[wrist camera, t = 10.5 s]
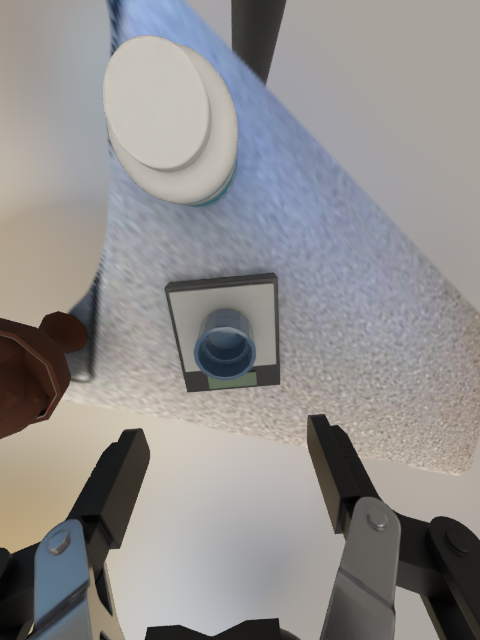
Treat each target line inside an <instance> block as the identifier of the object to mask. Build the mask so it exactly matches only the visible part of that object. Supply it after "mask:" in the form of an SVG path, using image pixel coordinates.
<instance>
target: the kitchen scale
mask: <svg viewBox="0 0 480 640" xmlns="http://www.w3.org/2000/svg"><path fill="white" fill-rule="evenodd" d="M165 292H166V297H167V301H168V306H169V310H170V315H171V320H172V324H173V329H174V333H175V338H176V343H177V347H178V352H179V356H180V361H181V365H182V370H183V375H184V379H185V384H186V388H187V392H199V391H211V390H222V389H234V388H245V387H257V386H269V385H280V360H279V321H278V282H277V276H276V275H275V274H274V273H267V274H257V275H246V276H235V277H224V278H213V279H202V280H191V281H180V282H170V283H169V284H168V285H167V286H166V287H165ZM225 309H230V310H233V311H237V312H239V313H241V314H242V315H244V316H245V317H246V318H247V319H248V320H249V322H250V324H251V326H252V329H253V335H254V341H255V346H256V359H255V362H254V364H253V367H252V368H251V369H250V370H249V371H248V372H247V373H246V374H245V375H243V376H241V377H239V378H237V379H234V380H224V381H223V380H218V379H214V378H211V377H209V376H208V375H206V374H204V373H203V372H202V371H201V370H200V369H199V367H198V366H197V364H196V363H195V358H194V353H193V351H194V348H195V344H196V341H197V337H198V334H199V331H200V327H201V324H202V322H203V321H204V320H205V318H206V317H207V316H208V315H209V314H211V313H213V312H215V311H217V310H225Z"/></svg>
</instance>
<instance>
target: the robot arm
mask: <svg viewBox="0 0 480 640" xmlns="http://www.w3.org/2000/svg"><path fill="white" fill-rule="evenodd" d="M307 444H308V449H309V453H310V456H311V459H312V462H313V465H314V469H315V472H316V475H317V478H318V481H319V485H320V488H321V491H322V494H323V497H324V500H325V504H326V507H327V510H328V513H329V517H330V520H331V523H332V526H333V529H334V532H335V534H341V533H343V535H344V538H345V540H346V543H345V547H344V550H343V554H342V558H341V562H340V566H339V568H338V571H337V575H336V579H335V582H334V586H333V590H332V594H331V597H330V601H329V605H328V609H327V613H326V617H325V621H324V625H323V628H322V632H321V636H320V640H394V632H395V609H394V599H395V588H396V586H399V587H402V588H405V589H407V590H410V591H413V592H416V593H418V594H420V596H421V598H422V601H423V603H424V605H425V607H426V610H427V612H428V614H429V617H430V619H431V621H432V623H433V625H434V628H435V630H436V632H437V634H438V637H439V639H440V640H480V540H479V539H478V538H477V536H476V535H475V534H474V533H473V532H472V531H470V530H469V529H468V528H467V527H466V526H464V525H463V524H461V523H460V522H458V521H456V520H454V519H451V518H448V517H444V516H439V517H435V518H434V519H432V521H431V522H430V523H428V522H424V521H420V520H417V519H413V518H410V517H406V516H404V515H401V514H399V513H397V512H395V511H394V510H392V509H391V508H390V507H389V506H388V505H387V504H385V503H384V502H383V501H382V499H381V498H380V497H379V495H378V493H377V492H376V490H375V488H374V486H373V484H372V482H371V480H370V478H369V476H368V474H367V472H366V470H365V468H364V466H363V464H362V462H361V460H360V458H359V457H358V454H357V452H356V450H355V449H354V448H353V445H352V443H351V441H350V439H349V437H348V435H347V434H346V433H345V432H344V431H343V430H342V429H341V428H340V427H339V426H338V425H334V426H330V424H329V422H328V420H327V418H326V416H325V415H324V414H318V415H308V422H307ZM149 460H150V449H149V446H148V444H147V441H146V438H145V435H144V432H143V430H142V429H141V428H138V429H126V430H124V431H123V432H122V434H121V436H120V438H119V440H118V442H114V443H112V444H111V445H110V446H109V447H108V448H107V449H106V450H105V451H104V452H103V453H102V455H101V457H100V458H99V460H98V462H97V464H96V467H95V468H94V470H93V471H92V473H91V476H90V477H89V479H88V481H87V482H86V484H85V486H84V488H83V489H82V492H81V493H80V495H79V497H78V499H77V500H76V502H75V504H74V506H73V508H72V510H71V511H70V513H69V515H68V517H67V518H66V520H65V521H64V522H61V523H60V524H58V525H57V526H55V527H54V528H53V529H52V530H51V531H50V532H48V533H47V535H46V536H45V537H44V538H43V540H42V541H40V542H38V543H36V544H34V545H31V546H29V547H27V548H24V549H22V550H19V551H17V552H15V553H13V554H10V552H9V551H8V550H7V549H5V548H0V640H125V638H124V635H123V632H122V630H121V627H120V625H119V622H118V618H117V614H116V610H115V605H114V600H113V595H112V590H111V585H110V580H109V575H108V570H107V566H106V562H105V560H106V557H107V554H108V552H109V549H120V547H121V544H122V541H123V538H124V535H125V532H126V529H127V526H128V523H129V520H130V517H131V514H132V511H133V508H134V505H135V502H136V499H137V497H138V493H139V491H140V488H141V484H142V482H143V479H144V476H145V473H146V470H147V467H148V464H149ZM33 622H34V626H33V630H32V632H31V633H30V634H29V635H28V633H29V631H30V629H31V627H32V624H33ZM145 640H300V639H299V638H298V637H296V636H295V635H293V634H292V633H290V632H288V631H286V630H283V629H281V628H280V627H279V619H278V618H275V619H259V620H246V621H244V622H242V623H240V624H238V625H236V626H234V627H232V628H230V629H228V630H226V631H224V632H222V633H220V634H218V635H215V636H207V635H205V634H202V633H199V632H197V631H194V630H191V629H189V628H186V627H183V626H181V625H173V626H157V627H148V628H147V632H146V637H145Z"/></svg>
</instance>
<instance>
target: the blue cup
mask: <svg viewBox="0 0 480 640" xmlns="http://www.w3.org/2000/svg"><path fill="white" fill-rule="evenodd" d="M193 353H194V358H195V363H196V364H197V366H198V367H199V369H200V370H201V371H202V372H203V373H204V374H206V375H208V376H209V377H211V378H214V379H218V380H223V381H224V380H234V379H237V378H239V377H241V376H243V375H245V374H246V373H247V372H248V371H249V370H250V369H251V368H252V367H253V364H254V362H255V359H256V346H255V341H254V335H253V329H252V326H251V324H250V322H249V320H248V319H247V318H246V317H245V316H244V315H242V314H241V313H239V312H237V311H233V310H230V309H225V310H217V311H215V312H213V313H211V314H209V315H208V316H207V317H206V318H205V320H204V321H203V322H202V324H201V327H200V331H199V334H198V337H197V341H196V344H195V348H194V351H193Z"/></svg>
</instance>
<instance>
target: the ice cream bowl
mask: <svg viewBox="0 0 480 640" xmlns="http://www.w3.org/2000/svg"><path fill="white" fill-rule="evenodd" d="M87 340H88V336H87V332H86V328H85V326H84V325H83V324H82V323H81V322H80V321H79V320H78V319H77V318H76V317H75V316H73V315H70V314H66V313H63V312H59V311H58V312H55V313H51V314H49V315H46V316H45V317H44V318H43V320H42V322H41V324H40V326H39V329H38V328H36V327H32V326H28V325H25V324H21V323H17V322H13V321H10V320H6V319H2V318H0V439H2V438H4V437H7V436H9V435H12V434H14V433H17V432H19V431H21V430H23V429H24V428H26V427H27V426H28V425H30V424H34V423H37V422H41V421H44V420H48V419H49V418H50V416H51V415H52V413H53V411H54V410H55V408H56V406H57V405H58V403H59V401H60V400H61V398H62V396H63V395H64V393H65V391H66V390H67V388H68V386H69V383H70V379H71V374H70V371H69V368H68V364H67V361H66V358H65V355H64V352H65V353H70V352H73V351H77V350H80V349H83V347H84V345H85V344H86V342H87Z"/></svg>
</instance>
